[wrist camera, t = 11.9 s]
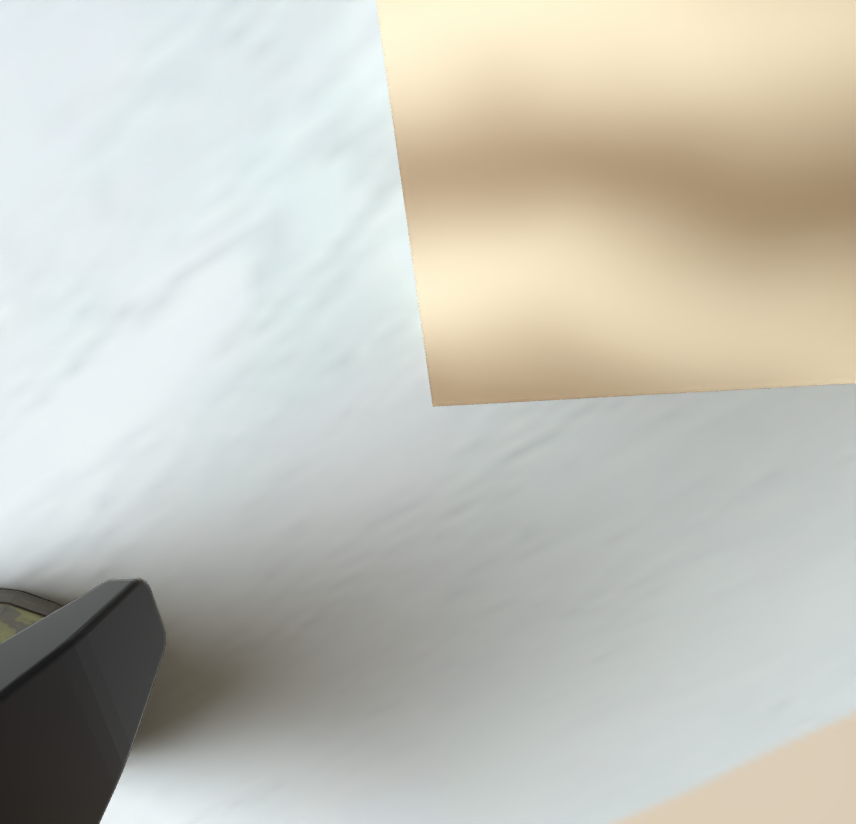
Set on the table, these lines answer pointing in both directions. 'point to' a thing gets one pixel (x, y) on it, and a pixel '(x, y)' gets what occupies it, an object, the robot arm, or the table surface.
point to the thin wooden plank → (627, 193)
